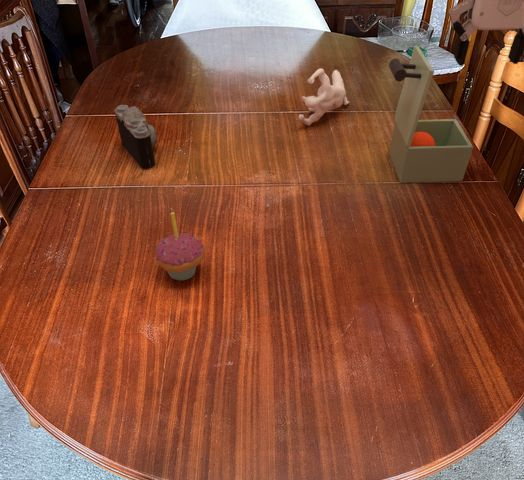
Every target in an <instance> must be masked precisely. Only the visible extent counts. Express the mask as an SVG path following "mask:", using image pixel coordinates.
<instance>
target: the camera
mask: <svg viewBox="0 0 524 480" xmlns="http://www.w3.org/2000/svg"><path fill="white" fill-rule="evenodd" d="M114 116H115V119H116V124H117V128H118V132H119V133H118V134H119V137H120V141H121V146H122V147H123V149H125V151H126V152H127V153H128V154H129V156H130V157H131V158H132V159H133V161H134V162H135V163H136V164H137V166H139V168H140V169H141V170H146V171H147V170H151V169H153V168H155V167H156V159H155V155H154V147H155V146H156V144H157V143H158V135H157V133H156V129H155V127H154V126H153V125H151V124H148V121H147V118H146V116H145V115H144V113H143V112H142V111H141V110H140V109H139V108H138V107H137V106H136V105H133V106H131V107H129V106H128V105H127V104H119V105H117V106H116V108H115V109H114Z"/></svg>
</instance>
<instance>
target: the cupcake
mask: <svg viewBox="0 0 524 480" xmlns="http://www.w3.org/2000/svg"><path fill="white" fill-rule="evenodd" d="M170 219H171V223H172V224H171V225H172V228H173V233H172V234H167V235H166V236H164V237H162V239H161V240H160V241H159V242H158V243H157V245H156V246H155V251H154V258H155V260H156V264H157V265H158V266H159V267H160V268H161V269H163V270H165V271H166V272H167V274H168V275H169V277H170V278H171V279H173V280H174V281H175V280H176V281H186V280H189V279H191V278H193V277H194V275H195V274H196V271H197V267H198V266H199V265H200V264H201V263H202V261H203V258H204V255H205V247H204V244H203V243H202V241H201V240H200V239H199V238H198V237H196V236H194V235H193V234H190V233H186V232H179V231H178V230H179V229H178V225H177V220H176V214H175V211H173V207H170Z"/></svg>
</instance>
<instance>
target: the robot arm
mask: <svg viewBox="0 0 524 480" xmlns="http://www.w3.org/2000/svg"><path fill="white" fill-rule="evenodd" d="M466 12H467V15H466V20H465V22H463V24H461V21H460V16H461V15H462V14H464V13H466ZM448 17H449V19H450V20H449V21H450V27H451V28H452V29H453V31H454V32H455V34H456V36H457V37H458V38H457V41H456V46H455V49H454V53H453V59H455V62H456V63H457V64H458V66H459V67H462V66H464V65H465V62H466V58H467V55H468V50H469V47H470V40H469V38H470V37H471V36H472V35H473V34H474V33H475V32H476V31H477V30H478V31H501V30H502V31H503V30H504V31H505V30H506V31H508V30H518V33H517V32H516V33H515V35H514V36H513V40H512V43H511V47H510V50H509V53H508V56H507V58H508V59H509V60H510V62H511V63H512V64H513V65H518V63H519V61H520V59H521V58H522V56H523V55H524V0H463V1H461V2H458V3H457V4H456V5H454V6H452V7H450V8H449V9H448Z"/></svg>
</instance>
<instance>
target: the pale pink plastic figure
mask: <svg viewBox="0 0 524 480" xmlns="http://www.w3.org/2000/svg"><path fill="white" fill-rule="evenodd" d="M317 77H318V79H319V81H320V83H321V86H319V88H318V89H317V93H316V94H317V96H316V95H307V96H305V95H303V96H301V98H302V102H303V103H304V106H306V108H308V111H309V113H311V114H310V115H309V117H308V118H306V117H305V116H304V114H301V113H300V114H299V115H298V120H299V121H301V122H302V123H303V124H304V125H305V126H308V127H309V126H311V125H312V123H315V122H318V121H319V120H320V119H321V118H322V117H323V116H324V114H326V112H330V111H331V110H335V109H339V108H340V107H341V106H342V105H344V106H347V105H348V104H349V103H350V101H349V100H348V98H347V96H346V95H347V90H346V88H345V84H344V80H343V78H342V74H341V72H340V71H339V70H338V69H334V70H333V71H332V74H331V79H332V80H330V78H329V76H328V75H327V74H326V72H325V70H324V69H323V68H318V69H316V70H315V71H314V72H313V74H312V75H311V76H310V77H309V78H307V80H306V82H307V83H308V84H310V85H313V84H314V83H315V79H316V78H317ZM331 82H332V84H331Z"/></svg>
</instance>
